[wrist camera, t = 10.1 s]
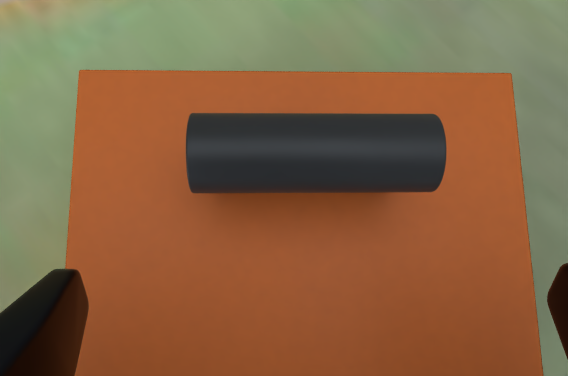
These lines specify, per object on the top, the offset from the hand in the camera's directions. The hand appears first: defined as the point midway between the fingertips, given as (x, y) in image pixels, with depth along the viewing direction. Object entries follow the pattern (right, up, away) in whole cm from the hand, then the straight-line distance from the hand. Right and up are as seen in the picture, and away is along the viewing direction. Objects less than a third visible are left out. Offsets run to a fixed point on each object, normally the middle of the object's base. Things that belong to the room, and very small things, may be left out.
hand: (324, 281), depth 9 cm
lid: (0, -1, +5) cm, 5 cm away
